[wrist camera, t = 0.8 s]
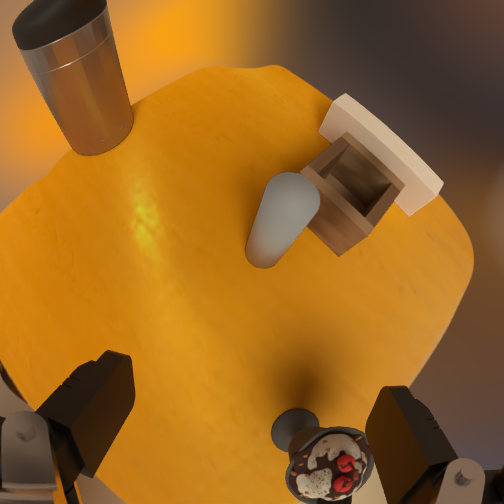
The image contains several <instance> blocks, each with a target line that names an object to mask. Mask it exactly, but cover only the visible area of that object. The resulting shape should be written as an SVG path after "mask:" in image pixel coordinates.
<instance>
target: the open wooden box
mask: <svg viewBox="0 0 504 504" xmlns="http://www.w3.org/2000/svg"><path fill="white" fill-rule="evenodd" d="M298 174H301V175H303V176H305V177H307V178H308V179H309V180H310V181H311V182H312V183H313V184H314V185H315V186H316V188H317V190H318V192H319V196H320V206H319V209H318V211H317V213H316V214H315V215H314V216H313V218H312V219H311V220H310V222H309V223H308V224H307V225H306V226H307V227H308V228H309V229H310V230H312V231H313V232H314V233H315V234H316V235H317V236H318V237H319V238H320V239H321V240H322V241H323V242H324V243H325V244H326V245H327V246H328V247H329V248H330V249H331V250H332V251H333V252H334V253H335V254H336V255H337V256H338V257H339V256H341V255H342V254H343V253H345V252H346V251H348V250H349V249H350V248H352V247H353V246H355V245H356V244H357V243H359V242H360V241H361V240H363V239H364V238H366V237H367V236H368V235H369V234H370V232H371V231H372V230H373V228H374V227H375V226H376V224H377V223H378V222H379V221H380V219H381V218H382V217H383V215H384V214H385V213H386V211H387V210H388V208H389V207H390V206H391V204H392V203H393V202H394V200H395V199H396V197H397V196H398V195H399V193H400V192H401V191H402V189H403V188H404V186H405V184H404V183H403V182H402V181H401V180H400V179H399V178H398V177H397V176H396V175H395V174H394V173H393V172H392V171H391V170H390V169H389V168H388V167H386V166H385V165H384V164H383V163H382V162H381V161H380V160H379V159H378V158H377V157H376V156H375V155H374V154H372V153H371V152H370V151H369V150H368V149H367V148H366V147H365V146H364V145H362V144H361V143H360V142H359V141H358V140H357V139H355V138H354V137H353V136H352V135H351V134H350V133H348V132H347V131H346V132H345V133H344V134H343V135H342V136H341V137H339V138H338V139H337V140H336V141H335V142H333V143H332V144H331V145H330V146H329V147H328V148H326V149H325V150H324V151H323V152H322V153H321V154H319V155H318V156H317V157H316V158H315V159H314V160H312V161H311V162H310V163H309V164H308V165H307V166H306V167H304V168H303V169H302V170H301V171H300V172H299V173H298Z"/></svg>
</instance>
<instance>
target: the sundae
mask: <svg viewBox="0 0 504 504" xmlns="http://www.w3.org/2000/svg"><path fill="white" fill-rule="evenodd" d="M271 435H272V440H273V442H274V444H275V445H276V446H277V447H278V448H279V449H281V450H283V451H285V452H288V453H289V459H290V464H289V466H288V468H287V471H286V476H285V479H286V484H287V487H288V489H289V490H290V492H291V493H292V494H293V495H294V496H295V497H296V498H297V499H298V500H300V501H302V502H304V503H307V504H351V502H352V494H353V493H354V492H357V491H358V490H359V489H360V488H361V487H362V486H363V485H364V484H365V483H366V481H367V480H368V478H369V477H370V475H371V472H372V469H373V466H374V459H373V456H372V453H371V450H370V447H369V444H368V441H367V438H366V434H365V433H363V432H362V431H359V430H357V429H355V428H349V427H340V426H338V427H329V428H323V427H319V421H318V419H317V418H316V416H315V415H314V414H313V413H311V412H309V411H307V410H304V409H294V410H290V411H287V412H285V413H284V414H282V415H281V416H279V418H278V419H277V420H276V421H275V423H274V424H273V427H272V431H271Z"/></svg>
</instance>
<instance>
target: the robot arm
mask: <svg viewBox="0 0 504 504" xmlns="http://www.w3.org/2000/svg"><path fill="white" fill-rule="evenodd" d="M12 32H13V36H14V39H15V41H16V43H17V46H18V48H19V50H20V52H21V54H22V56H23V58H24V60H25V63H26V65H27V67H28V69H29V71H30V72H31V75H32V76H33V79H34V80H35V83H36V85H37V87H38V88H39V90H40V92H41V94H42V96H43V98H44V100H45V102H46V103H47V105H48V107H49V109H50V111H51V112H52V115H53V116H54V118H55V120H56V121H57V123H58V125H59V127H60V129H61V131H62V132H63V134H64V135H65V137H66V139H67V141H68V142H69V144H70V146H71V147H72V149H73V150H74V151H75V152H77V153H78V154H81V155H88V156H90V155H97V154H101V153H104V152H106V151H108V150H110V149H112V148H113V147H115V146H116V145H118V144H119V143H120V142H121V141H122V140H123V139H124V138H125V137H126V136H127V135H128V133H129V132H130V130H131V128H132V125H133V118H134V117H133V113H132V109H131V106H130V102H129V98H128V94H127V91H126V87H125V83H124V79H123V75H122V71H121V67H120V63H119V58H118V54H117V50H116V45H115V41H114V36H113V31H112V27H111V22H110V17H109V12H108V7H107V2H106V0H34V1H33V2H32V3H31V4H30V5H28V6H27V7H26V8H25V9H24V10H23V11H22V12H21V13H20V15H19V16H18V17H17V19H16V20H15V22H14V24H13V27H12ZM134 401H135V386H134V377H133V368H132V360H131V357H130V356H129V355H125V354H121V353H118V352H114V351H111V350H107V351H105V352H104V353H103V354H102V355H101V357H100V358H99V359H98V360H97V361H96V362H95V361H92V360H91V361H89V362H87V363H85V364H82V365H80V366H78V367H77V368H76V369H75V370H74V371H73V372H72V374H71V375H70V377H69V378H67V379H66V380H65V381H64V382H63V384H62V385H60V386H59V387H58V388H57V389H56V390H55V391H54V392H53V393H52V394H51V395H50V396H49V398H48V399H47V400H46V401H45V402H44V403H43V404H42V405H41V406H40V407H39V408H38V409H37V410H36V411H35V412H30V411H20V412H16V413H13V414H11V415H10V416H8V417H7V418H4V417H0V504H83V503H82V500H81V497H80V493H79V490H78V487H77V483H76V481H75V480H76V479H77V477H78V475H79V474H80V473H81V474H83V475H85V476H88V477H90V478H93V476H94V475H95V473H96V471H97V469H98V467H99V466H100V464H101V462H102V460H103V459H104V457H105V455H106V453H107V451H108V450H109V448H110V446H111V444H112V443H113V441H114V439H115V437H116V436H117V434H118V432H119V431H120V429H121V427H122V425H123V424H124V422H125V420H126V418H127V417H128V415H129V413H130V412H131V410H132V408H133V405H134ZM365 433H366V438H367V441H368V444H369V447H370V450H371V453H372V456H373V459H374V462H375V465H376V468H377V471H378V474H379V477H380V480H381V484H382V487H383V490H384V493H385V497H386V500H387V503H388V504H504V465H503V467H502V468H501V469H500V470H486V471H485V470H484V471H483V469H482V468H481V466H480V465H479V464H478V463H476V462H474V461H473V460H470V459H464V458H461V459H459V458H458V457H457V455H456V453H455V451H454V450H453V448H452V446H451V445H450V443H449V441H448V440H447V438H446V436H445V435H444V433H443V431H442V430H441V429H439V425H438V423H437V421H436V420H434V417H433V415H432V414H431V412H430V410H429V409H428V408H427V407H426V406H425V405H424V404H423V403H421V402H420V401H419V400H418V399H414V397H413V395H412V394H411V392H410V391H409V389H408V388H407V387H406V386H385V387H383V388H382V389H381V391H380V393H379V395H378V397H377V400H376V402H375V404H374V406H373V409H372V411H371V413H370V415H369V417H368V419H367V422H366V428H365Z"/></svg>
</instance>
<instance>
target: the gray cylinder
mask: <svg viewBox="0 0 504 504" xmlns="http://www.w3.org/2000/svg"><path fill="white" fill-rule="evenodd" d="M319 206H320V196H319V192H318V190H317V188H316V186H315V185H314V184H313V183H312V182H311V181H310V180H309V179H308V178H307V177H305V176H303V175H301V174H298V173H294V172H283V173H280V174H277V175H275V176H274V177H272V178H271V179H270V181H269V182H268V184H267V186H266V189H265V192H264V195H263V197H262V200H261V203H260V206H259V209H258V212H257V215H256V218H255V221H254V224H253V227H252V230H251V232H250V235H249V238H248V241H247V244H246V248H245V254H246V257H247V259H248V261H249V262H250V263H251V264H252V265H253V266H255V267H257V268H261V269H266V268H270V267H272V266H274V265H275V264H276V263H277V262H278V261H279V259H280V258H281V257H282V256H283V254H284V253H285V252H286V251H287V249H288V248H289V247H290V246H291V244H292V243H293V242H294V241H295V239H296V238H297V237H298V236H299V234H300V233H301V232H302V231H303V229H304V228H305V227H306V225H307V224H308V223H309V222H310V220H311V219H312V218H313V216H314V215H315V214H316V213H317V211H318V209H319Z"/></svg>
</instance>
